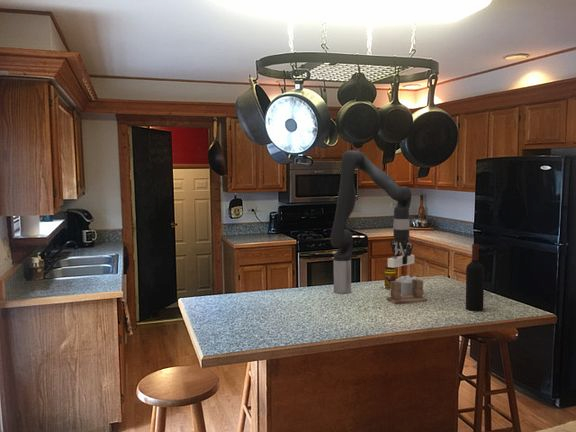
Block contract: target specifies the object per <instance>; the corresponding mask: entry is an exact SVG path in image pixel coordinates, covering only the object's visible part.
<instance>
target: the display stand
mask: <svg viewBox="0 0 576 432" xmlns="http://www.w3.org/2000/svg"><path fill="white" fill-rule="evenodd" d="M386 300H387V301H389V302H391V303H392V304H394V305H403V304H405V305H406V304H413V303H424V302H428V298H427V297H424V280H422V279H419V278H417V279H412V295H401V283H400V282H398V281H397V280H396V281H391V290H390V296H386Z"/></svg>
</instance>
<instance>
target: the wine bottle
mask: <svg viewBox="0 0 576 432" xmlns="http://www.w3.org/2000/svg"><path fill="white" fill-rule="evenodd" d="M479 248H480V244H478V243H472V244H471V261H470V262H469V263H468V264H467V265H466V266H465V267H466V269H465V310H466V311H469V312H483V311H484V301H485V300H484V296H485V295H484V292H485V291H484V289H485V288H484V287H485V285H484V284H485V267H484V266H483V264H482V263H481V262H480V261H479V250H480V249H479Z"/></svg>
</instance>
